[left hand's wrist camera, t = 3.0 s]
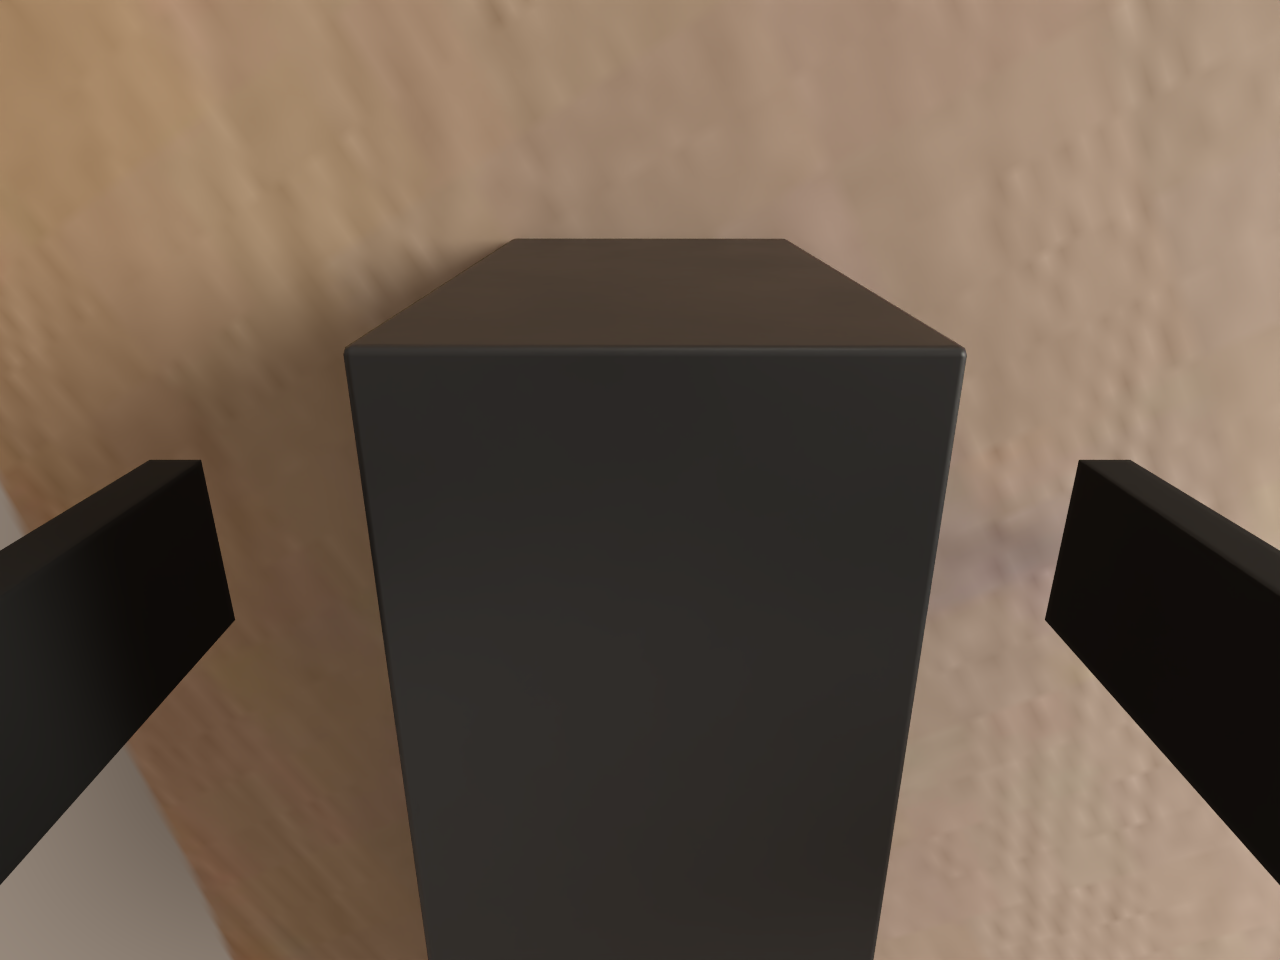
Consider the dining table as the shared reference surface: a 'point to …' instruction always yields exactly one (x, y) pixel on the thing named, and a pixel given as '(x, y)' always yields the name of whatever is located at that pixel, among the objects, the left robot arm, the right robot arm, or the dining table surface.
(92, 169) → the dining table surface
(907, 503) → the bar
